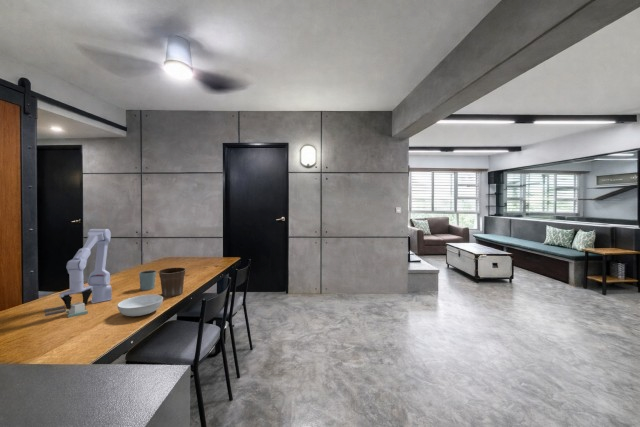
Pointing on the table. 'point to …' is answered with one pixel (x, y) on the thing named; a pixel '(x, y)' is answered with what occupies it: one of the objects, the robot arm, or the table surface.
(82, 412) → the table surface
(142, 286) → the drinking glass
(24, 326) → the table surface
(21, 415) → the table surface
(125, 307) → the serving bowl
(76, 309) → the grey cube
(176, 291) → the plant pot
